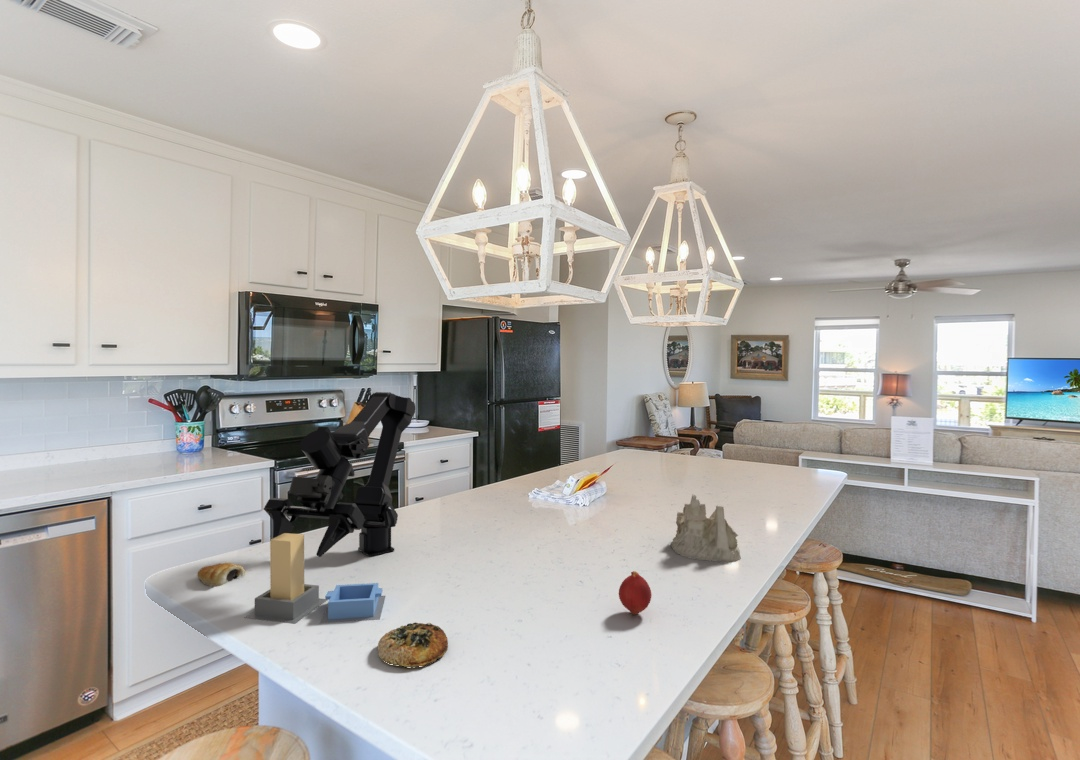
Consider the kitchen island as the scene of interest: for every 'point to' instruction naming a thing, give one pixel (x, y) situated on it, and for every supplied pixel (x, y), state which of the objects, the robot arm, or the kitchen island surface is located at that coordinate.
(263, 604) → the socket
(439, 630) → the bread roll
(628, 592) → the onion
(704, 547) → the grey sandcastle model
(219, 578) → the pastry
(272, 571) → the tall tan pillar
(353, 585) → the blue bezel socket
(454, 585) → the kitchen island surface
